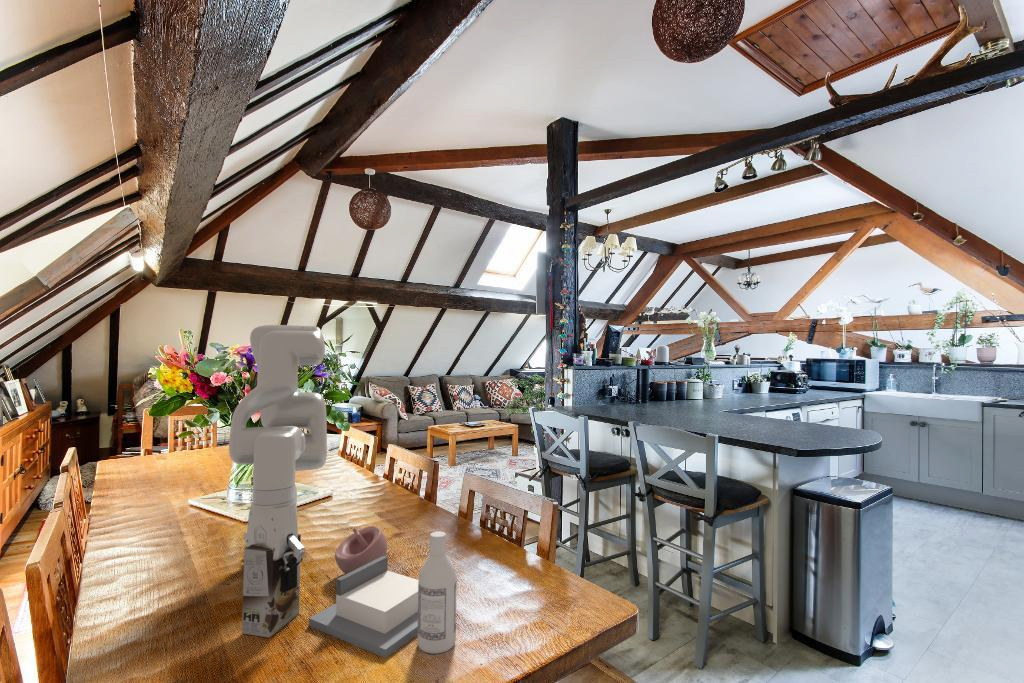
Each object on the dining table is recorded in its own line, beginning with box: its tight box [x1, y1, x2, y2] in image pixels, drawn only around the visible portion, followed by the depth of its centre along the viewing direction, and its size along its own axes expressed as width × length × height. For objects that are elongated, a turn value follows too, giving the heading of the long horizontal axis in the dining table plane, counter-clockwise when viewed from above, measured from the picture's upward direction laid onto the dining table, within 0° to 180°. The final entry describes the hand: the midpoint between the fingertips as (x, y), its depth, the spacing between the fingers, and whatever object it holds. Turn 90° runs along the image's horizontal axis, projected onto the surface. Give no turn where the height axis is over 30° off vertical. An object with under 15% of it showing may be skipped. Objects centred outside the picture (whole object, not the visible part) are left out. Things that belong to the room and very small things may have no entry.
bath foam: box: [417, 530, 458, 655], centre depth 92 cm, size 7×7×20 cm
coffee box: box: [241, 533, 302, 638], centre depth 98 cm, size 9×6×16 cm
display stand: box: [308, 555, 419, 659], centre depth 101 cm, size 20×20×8 cm
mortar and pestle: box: [334, 525, 388, 575], centre depth 119 cm, size 12×12×12 cm
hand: (272, 584), depth 97 cm, fingers open, 9 cm apart
